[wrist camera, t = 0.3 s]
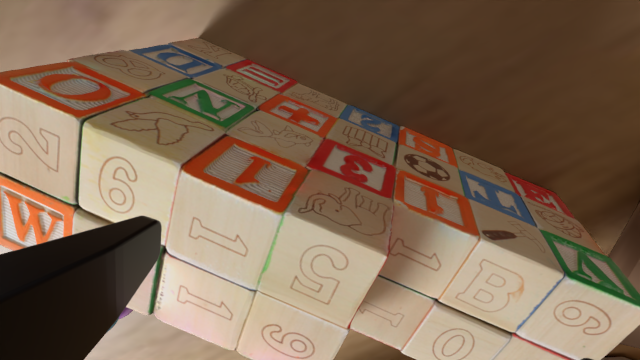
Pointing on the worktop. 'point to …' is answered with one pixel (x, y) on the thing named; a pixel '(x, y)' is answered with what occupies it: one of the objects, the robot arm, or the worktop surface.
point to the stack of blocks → (300, 214)
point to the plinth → (630, 263)
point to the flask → (615, 358)
